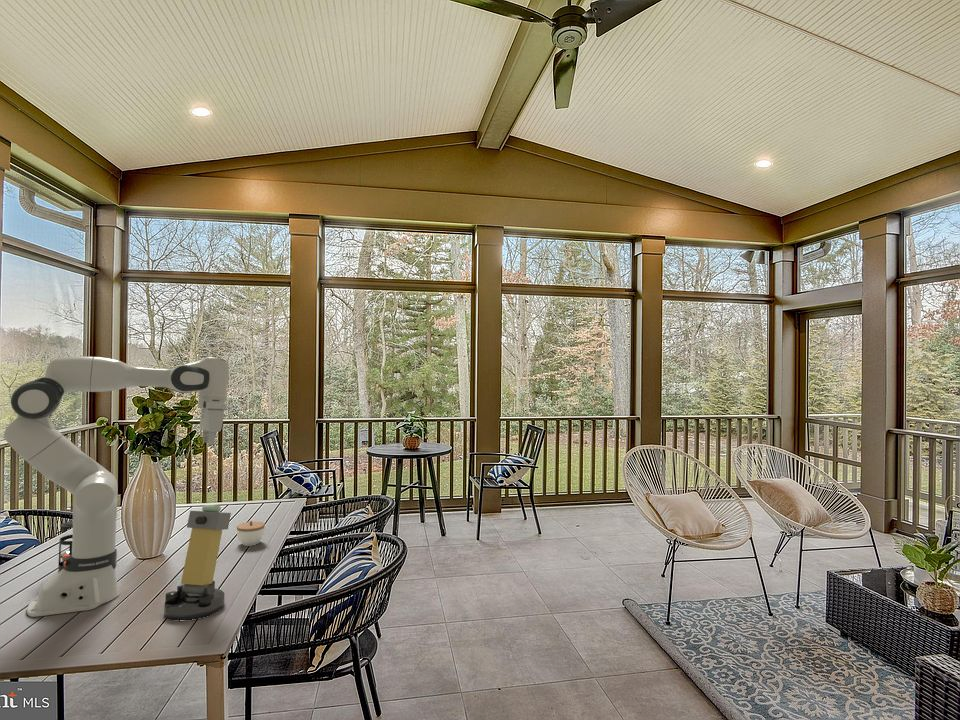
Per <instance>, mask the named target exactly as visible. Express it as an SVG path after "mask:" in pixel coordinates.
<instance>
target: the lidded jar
mask: <svg viewBox="0 0 960 720" xmlns="http://www.w3.org/2000/svg"><path fill="white" fill-rule="evenodd" d="M265 527H266V524H265V523H264V522H262V521H253V520H250V521H246V522H242V523H239V524H238V525H237V526H236V537H237V540H238V541H239V543H240V544H241V545H242V544H243V545H246V546H245V547H253V545H254V546H257V545H258V544H259V543H260V542H261V541H262V539H263V537H264V534H265ZM256 544H257V545H256ZM243 545H242V546H243Z"/></svg>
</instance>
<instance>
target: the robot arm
mask: <svg viewBox="0 0 960 720" xmlns="http://www.w3.org/2000/svg"><path fill="white" fill-rule="evenodd" d="M229 379H230V366H229V362H227V360H224V359H222V358H219V357H215V356H210V355H209V356H205V357H204V358H202V359H200V360H197V361H192V362H189V363H184V364H181V365H177V366H174V367H170V368H148V367H138V366H134V365H131V364H127V363H125V362H124V361H121V360H117V359H113V358H109V357H101V356H84V355H82V356H81V355H79V356H78V355H77V356H75V355H74V356H63V357H56V358H54V359H52V360H51V361H50V362H49V363H48V365H47V367H46V369H45V374H44V377H40V378H38V379H35V380H31V381H27V382H25V383H23V384H21V385H20V386H19V387H17V388H16V390H14V391H13V393H12V394H11V397H10V406H11V408H12V410H13V411H14V413H15V414H16V415H17V416H16V418H15V419H14V420H12V422H10V423H9V424H8V425H7V426H6V428H5V430H4V432H3V438H4V439H5V440H4V441H6V442H7V444H8V445H9V446H10V447H11V448H12V449H13V450H14V452H15V453H17V454H18V456H20V457H21V458H22V460H24V461H25V462H26V463H28V464H29V465H30V466H31V467H33V468H34V469H35V470H36V471H37V472H39V474H41V475H43V477H44V478H46V479H48V480H49V481H51V482H52V483H55V484H57V485H58V486H60V487H61V488H63V489H65V490H66V491H67V492H69V493H70V494H72V506H73V509H72V521H73V528H72V534H73V537H72V538H71V539H72V540H71V541H72V555H69V554H65V555H64V556H63V558H61V562H62V561H63V569H62V570H61V571H60V572H58V571H57V573H55V575H52V577H50V578H49V579H47V580H46V581H45V582H44V583H43V584H42V585H41V587H40V589H39V591H38V594H37V597H36V598H34V599H33V600H32V601H30V602H29V604H28V606H27V608H26V614H27V616H29V617H31V618H36V617H37V618H38V617H44V616H50V615H60V614H66V613H75V612H76V613H77V612H82V611H89V610H90V611H91V610H93V609H96V608H98V607H99V606H101V605H103V604H105V603H106V604H107V603H108V602H111V601H112V600H114V599H116V598H117V597H118V596H119V595H120V594H121V593H120V592H121V591H120V590H119V586H118V581H117V574H116V573H117V572H116V567H117V565H118V552H117V551H118V549H116V544H117V543H116V540H117V539H116V537H117V536H116V535H117V517H118V515H117V514H118V513H117V512H118V497H119V495H118V494H119V493H118V491H119V489H118V481H117V478H116V476H115V475H114V474H113V473H112V472H110V471H109V470H108V469H106V468H105V466H103V465H102V464H100V463H98V462H97V461H96V460H95V459H93V458H92V457H90V456H89V455H88V454H86V453H85V452H83V450H81V449H80V448H79V447H78V446H76V444H74V442H72V441H71V440H70V439H68V438H67V436H65V435H64V434H63V433H62V432H60V430H58V429H56V427H54V426H53V424H52V423H51V421H50V418H51V417H52V415H53V414H54V413H55V412H56V411H57V410H59V407H60V406H61V403H62V399H63V396H64V395H66V394H68V393H72V392H73V393H74V392H85V393H86V392H87V393H89V392H91V393H99V392H101V393H103V392H104V393H105V392H112V391H114V392H115V391H118V390H119V391H120V390H122V389H126V388H133V387H152V388H155V387H156V388H164V389H165V388H167V389H169V390H171V391H173V392H175V393H177V394H189V393H192V392H195V391H197V392H198V398H197V399H198V400H197V408H198V409H201V411H200V418H199V419H200V420H199V428H200V429H201V430H202V442H203V443H206V444H208V445H209V446H210V445H211V446H212V445H215V440H216V436H217V432H219V433H220V432H221V430H222V427H223V423H224V417H225V411H226V410H227V409H228V404H227V401H228V400H227V399H228V393H227V389H228V385H229V382H230V381H229Z"/></svg>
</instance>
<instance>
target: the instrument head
mask: <svg viewBox="0 0 960 720" xmlns="http://www.w3.org/2000/svg"><path fill="white" fill-rule="evenodd" d="M201 509H202V510H190V511H189V515H188V520H187V524H186V528H187V529H189V528H190V529H191V533H190V536H189V541H188V547H187V551H186V557H185V561H184V565H183V570H182V576H181V579H180V580H181V581H180V584H184V585H183V586H182V593H187V594H197V595H204V589H205V588H206V587H208V586H209V585H208V584H212V582H213V581H214V576H215V572H216V567H217V561H218V560H217V559H218V554H219V551H220V546H221V539H222V535H223V530H228V529H229V525H230V521H231V516H232V515H231V514H232V513H231V512H222V511H221V510H222V507H221V506H220V505H214V504H213V505H212V504H203V505H202V508H201ZM220 511H221V512H220Z"/></svg>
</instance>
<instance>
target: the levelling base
mask: <svg viewBox="0 0 960 720" xmlns="http://www.w3.org/2000/svg"><path fill="white" fill-rule="evenodd" d="M215 584H216V581H215V580H213V582H212V584H208V585H209V586H208V587H206V588H205V589H204V595H197V594H187V593H182V586H183V585H184V584H181V583H180V584H178V585H177V586H176V587H177V588H176V589H177V591H175V590H174V591H173V590H172V591H168V592H166V593H165V599H164V601H165V602H164V605H163V607H164V608H163V611H164V612H163V616H164V618H166V620H169V619H170V620H169V621H172V620H179V621H178V622H181V621H180V620H192V619H198V618H202V619H204V618H203V617H205V618H208V617H210V615H211V616H213V615H215V614H217V613H219V612H220V611H221V610H223V608H224V606H225V592H224V591H223V589H222V590H221V589H219V588H215V586H216V585H215ZM218 611H219V612H218ZM216 612H217V613H216ZM214 613H215V614H214ZM212 614H213V615H212ZM207 616H208V617H207ZM198 620H199V619H198ZM192 621H193V620H192Z"/></svg>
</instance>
